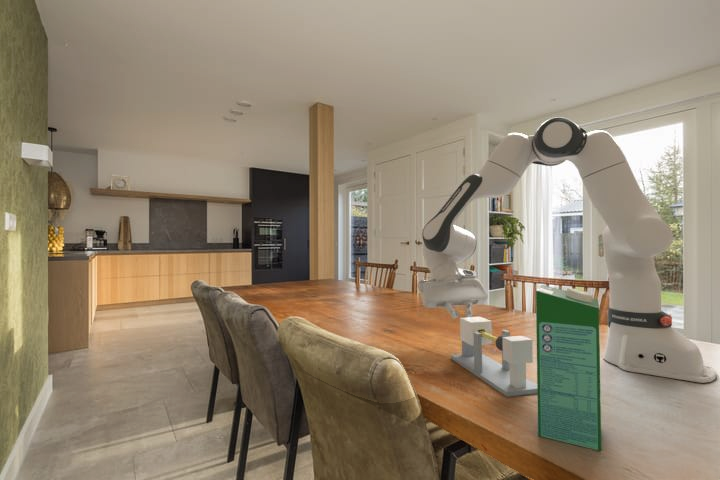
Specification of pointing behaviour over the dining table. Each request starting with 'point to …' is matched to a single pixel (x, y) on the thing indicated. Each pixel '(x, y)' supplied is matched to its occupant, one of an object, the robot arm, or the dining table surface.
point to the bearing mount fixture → (499, 376)
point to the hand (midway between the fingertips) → (463, 316)
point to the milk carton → (568, 366)
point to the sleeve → (474, 329)
